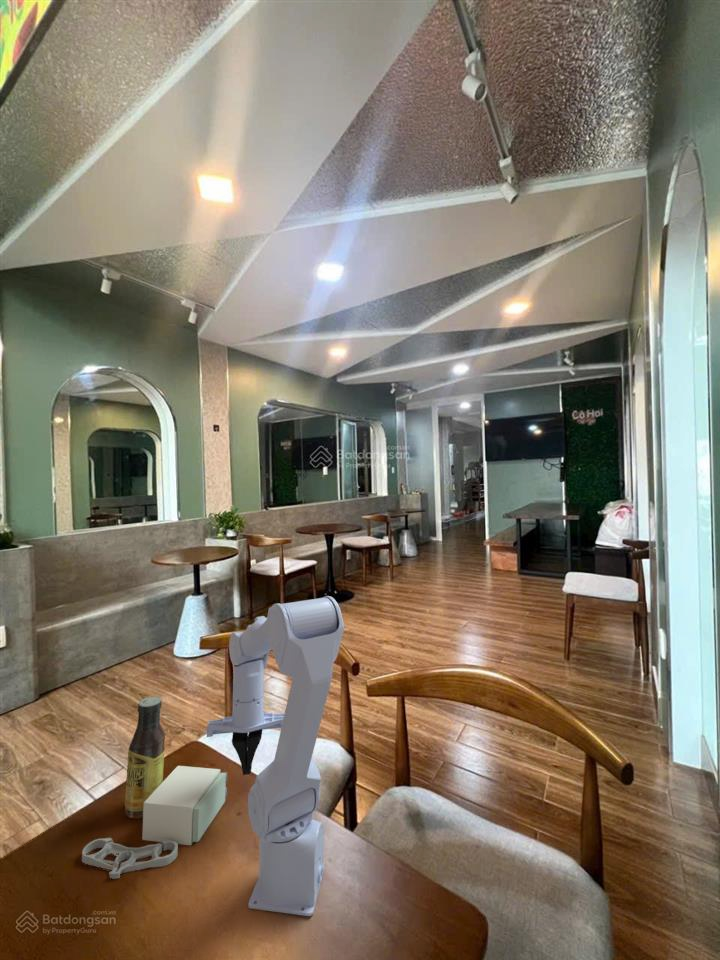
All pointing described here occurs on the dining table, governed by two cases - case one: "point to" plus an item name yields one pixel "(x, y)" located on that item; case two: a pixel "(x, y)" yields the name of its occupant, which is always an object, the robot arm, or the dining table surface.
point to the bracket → (128, 856)
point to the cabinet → (176, 804)
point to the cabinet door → (209, 806)
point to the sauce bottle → (145, 757)
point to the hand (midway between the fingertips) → (247, 771)
